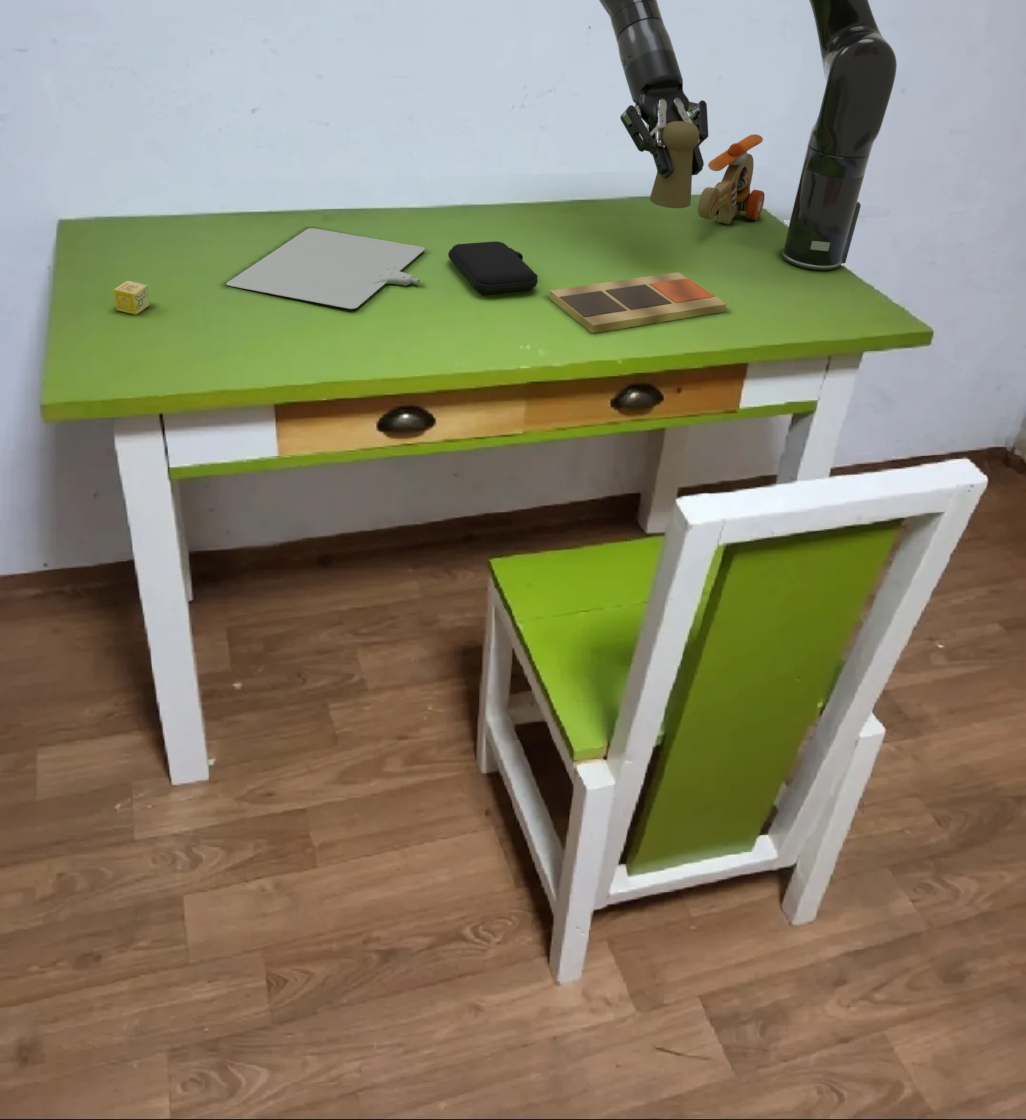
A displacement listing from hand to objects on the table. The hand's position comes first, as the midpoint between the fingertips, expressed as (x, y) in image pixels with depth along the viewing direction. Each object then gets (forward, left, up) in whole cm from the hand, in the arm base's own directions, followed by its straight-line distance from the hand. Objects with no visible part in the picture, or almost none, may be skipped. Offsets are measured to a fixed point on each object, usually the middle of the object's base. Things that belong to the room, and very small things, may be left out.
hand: (682, 173), depth 151 cm
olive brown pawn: (0, -2, -5) cm, 5 cm away
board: (+11, +9, -15) cm, 20 cm away
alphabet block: (+76, -11, -15) cm, 78 cm away
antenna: (+46, -15, -15) cm, 51 cm away
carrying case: (+26, -6, -15) cm, 31 cm away
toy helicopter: (-22, -15, -15) cm, 31 cm away
